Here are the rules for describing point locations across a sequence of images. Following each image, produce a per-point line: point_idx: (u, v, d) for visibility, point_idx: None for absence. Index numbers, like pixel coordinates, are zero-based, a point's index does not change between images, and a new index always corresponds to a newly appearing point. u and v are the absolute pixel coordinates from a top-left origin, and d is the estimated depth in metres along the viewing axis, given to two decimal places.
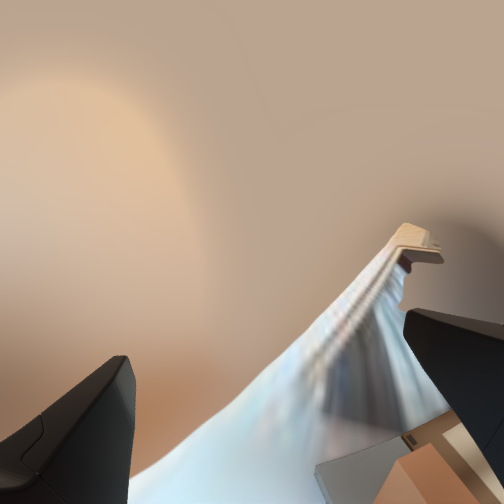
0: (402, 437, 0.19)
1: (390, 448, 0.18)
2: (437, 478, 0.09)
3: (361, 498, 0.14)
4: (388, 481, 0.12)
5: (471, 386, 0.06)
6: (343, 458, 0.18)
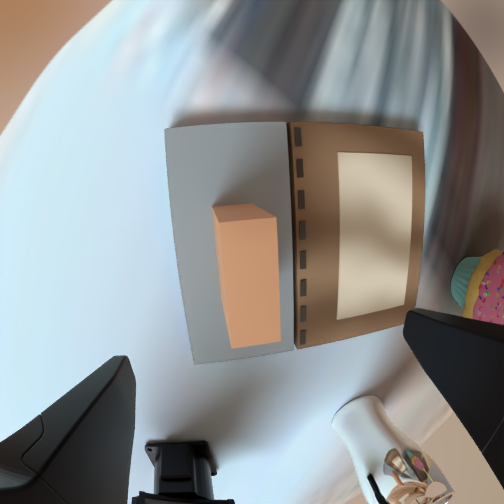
0: (289, 124, 0.18)
1: (265, 135, 0.17)
2: (255, 276, 0.13)
3: (201, 195, 0.18)
4: (215, 220, 0.14)
5: (471, 386, 0.06)
6: (201, 126, 0.16)
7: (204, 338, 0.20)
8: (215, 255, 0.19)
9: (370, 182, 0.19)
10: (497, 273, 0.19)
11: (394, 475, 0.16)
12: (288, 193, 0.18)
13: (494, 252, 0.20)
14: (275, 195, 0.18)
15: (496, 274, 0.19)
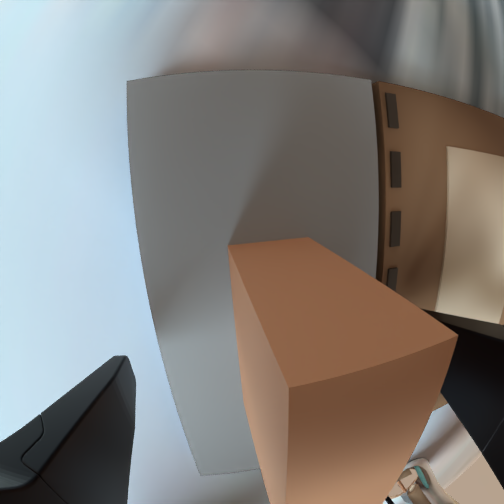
0: (375, 87, 0.08)
1: (336, 100, 0.08)
2: (365, 470, 0.04)
3: (205, 221, 0.08)
4: (250, 312, 0.05)
5: (471, 386, 0.06)
6: (205, 75, 0.07)
7: (215, 450, 0.11)
8: (234, 338, 0.09)
9: (482, 199, 0.10)
10: None
11: None
12: (375, 217, 0.09)
13: None
14: (353, 221, 0.09)
15: None
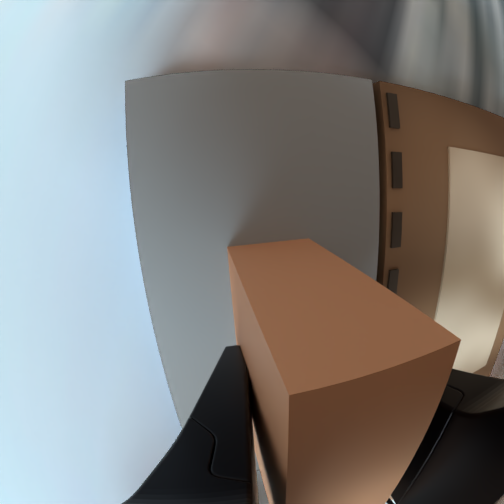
0: (376, 87, 0.08)
1: (337, 100, 0.08)
2: (365, 474, 0.04)
3: (205, 222, 0.08)
4: (250, 315, 0.05)
5: None
6: (204, 74, 0.07)
7: None
8: (234, 340, 0.09)
9: (483, 199, 0.10)
10: None
11: None
12: (376, 218, 0.09)
13: None
14: (354, 222, 0.09)
15: None
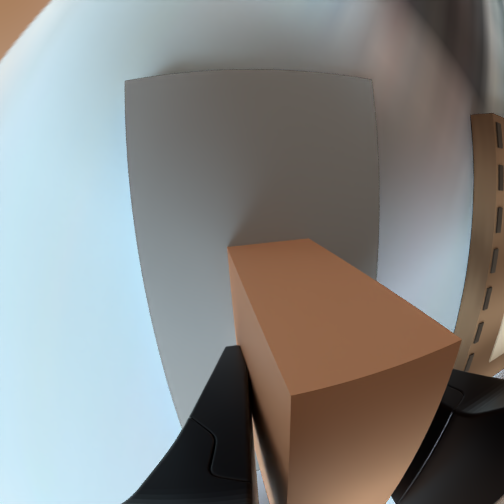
0: (489, 117, 0.09)
1: (336, 100, 0.08)
2: (367, 475, 0.04)
3: (204, 223, 0.08)
4: (251, 316, 0.05)
5: None
6: (204, 74, 0.07)
7: None
8: (234, 341, 0.09)
9: None
10: None
11: None
12: (376, 218, 0.09)
13: None
14: (354, 222, 0.09)
15: None
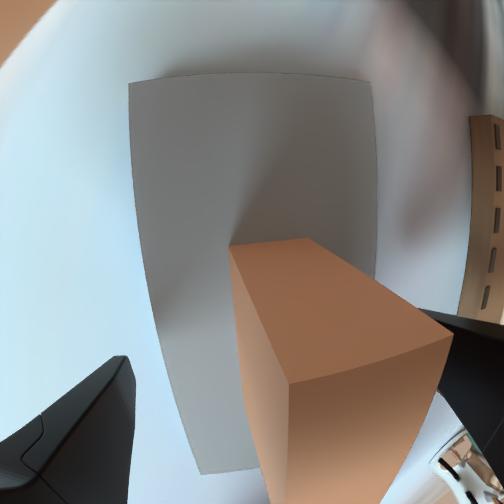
0: (487, 118, 0.09)
1: (335, 102, 0.08)
2: (363, 467, 0.04)
3: (206, 222, 0.08)
4: (252, 311, 0.05)
5: (471, 386, 0.06)
6: (206, 77, 0.07)
7: (215, 449, 0.11)
8: (234, 338, 0.09)
9: None
10: None
11: None
12: (374, 218, 0.09)
13: None
14: (352, 222, 0.09)
15: None
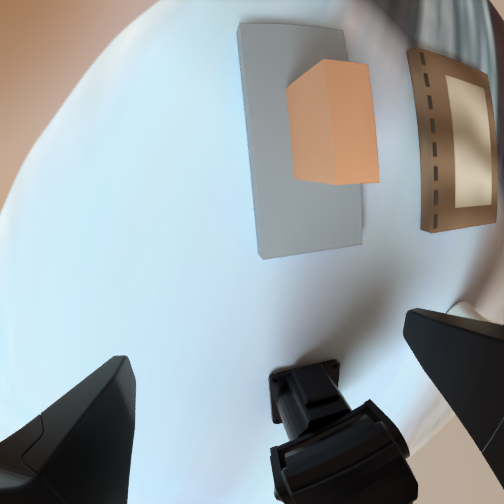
0: (415, 49, 0.17)
1: (327, 37, 0.16)
2: (355, 109, 0.12)
3: (276, 78, 0.17)
4: (306, 76, 0.13)
5: (471, 386, 0.06)
6: (273, 24, 0.15)
7: (275, 225, 0.19)
8: (289, 133, 0.18)
9: (465, 100, 0.19)
10: None
11: None
12: None
13: None
14: None
15: None
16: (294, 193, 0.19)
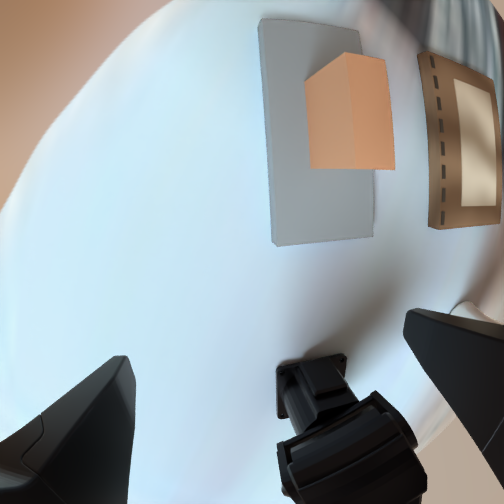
0: (425, 53, 0.18)
1: (344, 37, 0.17)
2: (374, 100, 0.12)
3: (295, 71, 0.17)
4: (327, 69, 0.14)
5: (471, 386, 0.06)
6: (293, 21, 0.16)
7: (291, 212, 0.19)
8: (307, 124, 0.18)
9: (472, 104, 0.20)
10: None
11: None
12: None
13: None
14: None
15: None
16: (310, 182, 0.19)
